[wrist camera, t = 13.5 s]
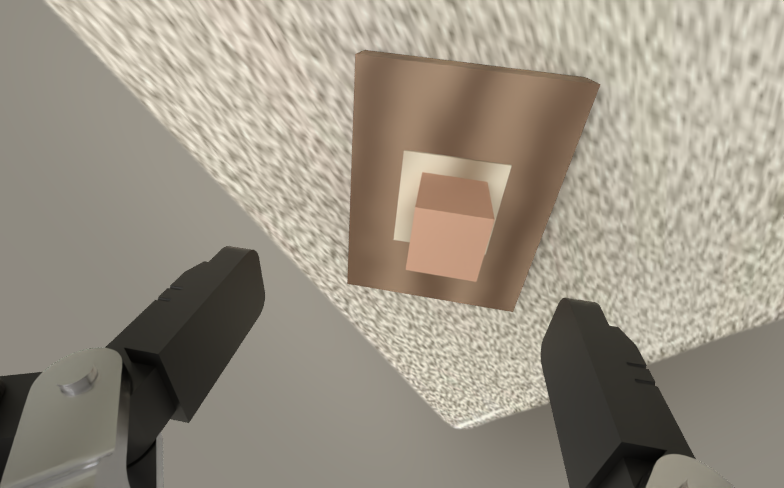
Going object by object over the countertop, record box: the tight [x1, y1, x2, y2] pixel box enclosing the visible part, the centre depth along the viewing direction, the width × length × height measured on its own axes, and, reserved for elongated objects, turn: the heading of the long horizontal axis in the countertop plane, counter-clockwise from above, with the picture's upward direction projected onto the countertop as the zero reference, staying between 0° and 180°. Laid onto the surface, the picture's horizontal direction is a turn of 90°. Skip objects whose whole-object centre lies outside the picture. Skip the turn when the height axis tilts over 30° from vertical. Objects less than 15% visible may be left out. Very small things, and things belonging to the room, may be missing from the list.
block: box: [406, 172, 495, 282], centre depth 26 cm, size 5×5×6 cm
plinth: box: [347, 50, 600, 312], centre depth 30 cm, size 16×20×3 cm
